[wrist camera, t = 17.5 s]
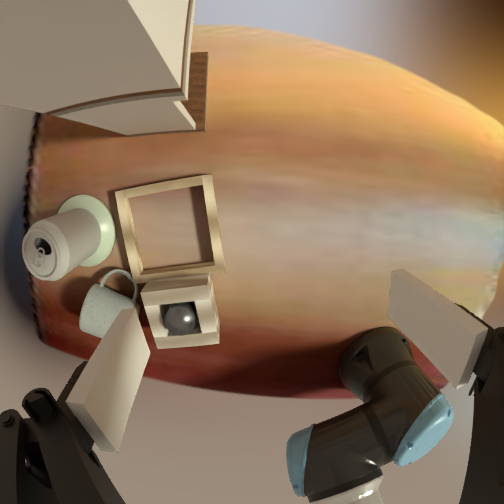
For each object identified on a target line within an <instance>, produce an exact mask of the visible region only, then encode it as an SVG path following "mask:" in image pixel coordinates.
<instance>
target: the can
mask: <svg viewBox="0 0 504 504" xmlns="http://www.w3.org/2000/svg"><path fill="white" fill-rule="evenodd" d="M100 241H101V229H100V226H99V223H98V221H97V219H96V218H95V216H94V215H93V214H92V213H91V212H89V211H88V210H86V209H83V208H75V209H71V210H68V211H65V212H62V213H59V214H57V215H54V216H51V217H48V218H45V219H42V220H40V221H37V222H36V223H34V224H33V225H32V226H31V227H30V229H29V230H28V232H27V234H26V235H25V237H24V239H23V243H22V254H23V259H24V262H25V264H26V267H27V268H28V269H29V271H30V272H31V273H32V274H33V275H34V276H35V277H36V278H38V279H41V280H50V281H55V280H58V279H60V278H62V277H63V276H64V275H66V274H67V273H68V272H70V271H71V270H72V269H74V268H75V267H76V266H78V265H79V264H80V263H82V262H83V261H84V260H86V259H87V258H89V257H90V256H91V255H93V254H94V253H95V252H96V251H97V249H98V247H99V245H100Z"/></svg>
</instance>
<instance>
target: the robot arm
mask: <svg viewBox="0 0 504 504" xmlns="http://www.w3.org/2000/svg"><path fill="white" fill-rule="evenodd" d="M387 316H388V317H389V318H390V319H391V320H392V321H393V322H394V323H395V325H396V326H397V327H398V328H399V329H400V330H401V331H402V332H403V333H404V334H405V335H406V336H407V337H408V338H409V339H410V340H411V341H412V342H413V343H414V344H415V345H416V346H417V347H418V348H419V349H420V351H421V352H422V353H423V354H424V355H425V356H426V357H427V358H428V359H429V360H430V361H431V362H432V363H433V364H434V366H435V367H436V368H437V369H438V370H439V371H440V372H441V373H442V374H443V375H444V377H445V378H446V379H447V380H448V381H449V382H450V383H451V384H452V386H453V387H454V388H455V389H458V388H459V387H461V386H463V385H465V384H467V383H468V381H469V379H470V377H471V375H472V372H474V373H475V374H476V375H477V376H476V379H475V381H474V383H473V385H472V387H471V390H470V392H469V396H470V395H471V394H472V392H473V391H474V416H473V429H472V439H471V447H470V454H469V461H468V466H467V472H466V477H465V482H464V486H463V491H462V495H461V499H460V503H459V504H504V327H499V328H496V329H493V328H492V327H491V326H489V325H488V324H486V323H485V322H484V321H483V320H481V319H480V318H479V317H477V316H475V315H474V314H473V313H472V312H470V311H469V310H467V309H466V308H465V307H463V306H461V305H459V304H456V303H453V302H452V301H450V300H449V299H447V298H446V297H445V296H443V295H442V294H440V293H439V292H437V291H436V290H434V289H433V288H432V287H430V286H429V285H427V284H426V283H424V282H423V281H421V280H420V279H418V278H417V277H415V276H414V275H412V274H410V273H409V272H407V271H406V270H404V269H399V270H394V271H392V274H391V287H390V297H389V307H388V315H387ZM149 355H150V351H149V348H148V345H147V342H146V339H145V337H144V334H143V331H142V328H141V325H140V322H139V318H138V315H137V312H136V309H135V308H130V309H122V310H121V311H120V313H119V314H118V316H117V317H116V319H115V320H114V322H113V323H112V325H111V326H110V328H109V329H108V331H107V332H106V334H105V336H104V337H103V339H102V340H101V342H100V344H99V345H98V347H97V348H96V350H95V352H94V353H93V355H92V357H91V358H90V360H89V361H84V362H83V363H82V364H81V365H79V366H78V367H77V368H76V370H75V371H74V373H73V374H72V376H71V377H72V378H70V379H69V381H68V384H66V386H65V388H64V389H63V391H62V393H61V394H60V396H59V398H58V400H57V401H55V399H54V397H53V396H52V394H51V393H50V391H49V390H48V389H46V388H37V389H34V390H32V391H31V392H29V393H28V394H27V395H26V396H25V397H24V399H23V401H22V407H23V408H24V409H25V410H26V412H27V414H28V415H29V416H30V418H25V419H23V418H22V417H21V415H20V414H19V413H18V411H16V410H14V409H9V410H6V411H4V412H2V413H1V415H0V504H125V502H124V501H123V499H122V498H121V496H120V495H119V493H118V491H117V490H116V488H115V487H114V485H113V484H112V482H111V480H110V479H109V477H108V475H107V473H106V472H105V470H104V468H103V466H102V465H101V463H100V461H99V459H98V457H97V455H96V454H95V453H94V451H93V450H92V446H93V444H94V442H95V443H96V445H97V446H98V447H99V448H100V449H101V450H102V451H109V452H116V453H118V452H119V449H120V445H121V442H122V438H123V434H124V431H125V427H126V424H127V421H128V418H129V415H130V411H131V409H132V405H133V402H134V399H135V396H136V393H137V390H138V387H139V384H140V381H141V378H142V375H143V372H144V369H145V367H146V364H147V361H148V358H149ZM338 373H339V377H340V379H341V381H342V383H343V385H344V386H345V388H346V389H347V390H349V391H350V392H351V393H353V394H354V395H355V396H356V397H358V398H359V399H360V400H362V401H363V402H364V404H363V405H360V406H358V407H356V408H354V409H352V410H350V411H347V412H345V413H343V414H340V415H338V416H335V417H333V418H331V419H328V420H326V421H323V422H321V423H318V424H312V425H311V426H310V427H308V428H305V429H303V430H300V431H298V432H296V433H294V434H292V435H291V437H290V438H289V440H288V442H287V450H286V457H287V467H288V473H289V478H290V482H291V483H292V486H293V490H294V492H295V494H296V495H297V496H302V497H305V496H307V497H308V499H309V502H310V504H383V501H382V499H381V496H380V494H379V491H378V487H379V485H380V483H381V481H382V479H383V477H384V476H383V474H382V471H381V469H380V467H381V466H383V465H385V464H387V463H389V462H391V461H394V463H395V464H397V465H398V466H405V465H407V464H410V463H412V462H414V461H416V460H418V459H419V458H421V457H422V456H423V455H425V454H426V453H427V452H428V451H430V449H432V448H433V447H434V446H435V445H436V444H437V443H438V442H439V441H440V440H441V438H442V437H443V436H444V435H445V434H446V432H447V431H448V429H449V427H450V426H451V423H452V421H453V416H454V412H453V408H452V407H451V405H450V404H449V402H448V401H447V400H446V398H445V395H444V394H443V393H441V391H440V390H439V389H438V388H437V387H436V386H435V384H434V383H433V382H432V381H431V380H430V379H429V377H428V376H427V375H426V374H425V373H424V372H423V371H422V369H421V368H420V367H419V366H418V365H417V364H416V363H415V360H414V357H413V354H412V351H411V348H410V345H409V342H408V340H407V339H406V337H405V336H404V335H403V334H402V333H401V332H400V331H399V330H397V329H395V328H392V327H382V328H377V329H374V330H372V331H369V332H367V333H366V334H364V335H362V336H361V337H359V338H358V339H357V340H356V341H354V342H353V343H352V344H351V345H350V346H349V348H348V349H347V350H346V352H345V353H344V355H343V356H342V358H341V361H340V364H339V369H338ZM25 460H26V463H25Z"/></svg>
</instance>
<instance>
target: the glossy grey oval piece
mask: <svg viewBox="0 0 504 504" xmlns="http://www.w3.org/2000/svg"><path fill="white" fill-rule="evenodd" d="M196 314H197V309H196V305H195V301H190V302H181V303H172V304H170V306H169V308H168V311H167V313H166V316H165V320H164V322H165V326H166V328H167V329H168V330H169V331H170V332H171V333H173V334H175V335H179V336H183V335H187V334H189V333H190V332H192V330H193V329H194V325H195V319H196Z"/></svg>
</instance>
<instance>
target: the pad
mask: <svg viewBox="0 0 504 504" xmlns="http://www.w3.org/2000/svg"><path fill="white" fill-rule="evenodd" d="M75 208H83V209H86V210H88V211H89V212H91V213H92V214H93V215H94V216H95V218H96V219H97V221H98V223H99V226H100V229H101V241H100V245H99V247H98V249H97V251H96V252H95V253H94V254H93V255H91V256H90V257H89V258H87V259H86V260H84V261H83V262H82V263H80V264H79V265H80V266H86V267H89V266H95V265H97V264H99V263H101V262H102V261H103V260H105V259H106V258H107V257H108V256H109V254H110V253H111V251H112V249H113V246H114V243H115V238H116V228H115V223H114V219H113V217H112V214H111V212H110V211H109V209H108V208H107V206H106V205H105V204H104V203H103V202H102V201H101V200H99V199H98V198H96V197H94V196H91V195H77V196H74V197H72V198H70V199H68V200H67V201H66V202H65V203H64V204H63V205H62V206H61V208H60V209H59V211H58V214H59V213H62V212H65V211H68V210H71V209H75Z"/></svg>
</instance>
